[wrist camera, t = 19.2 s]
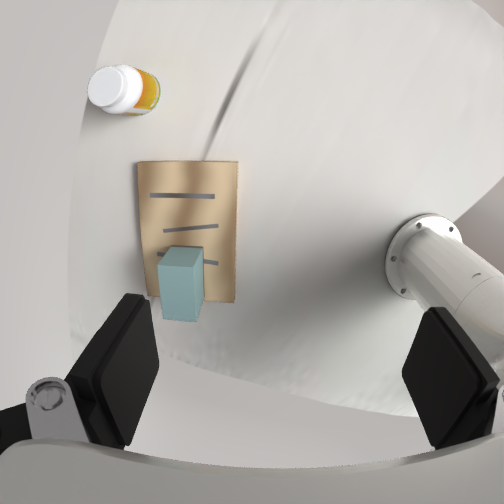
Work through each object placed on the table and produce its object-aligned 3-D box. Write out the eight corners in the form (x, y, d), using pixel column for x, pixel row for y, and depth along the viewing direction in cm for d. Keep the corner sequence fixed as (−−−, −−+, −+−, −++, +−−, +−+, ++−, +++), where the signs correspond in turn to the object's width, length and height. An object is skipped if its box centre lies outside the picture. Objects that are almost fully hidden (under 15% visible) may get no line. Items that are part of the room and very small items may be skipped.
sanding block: (172, 244, 38) (157, 265, 32) (203, 246, 38) (193, 267, 32) (175, 293, 41) (163, 318, 35) (204, 296, 41) (196, 322, 35)
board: (238, 161, 35) (237, 162, 34) (234, 298, 42) (233, 302, 41) (141, 161, 35) (137, 162, 34) (150, 291, 42) (147, 295, 41)
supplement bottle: (152, 65, 31) (118, 48, 22) (169, 101, 32) (138, 94, 23) (116, 87, 32) (74, 80, 23) (131, 123, 33) (92, 124, 24)
